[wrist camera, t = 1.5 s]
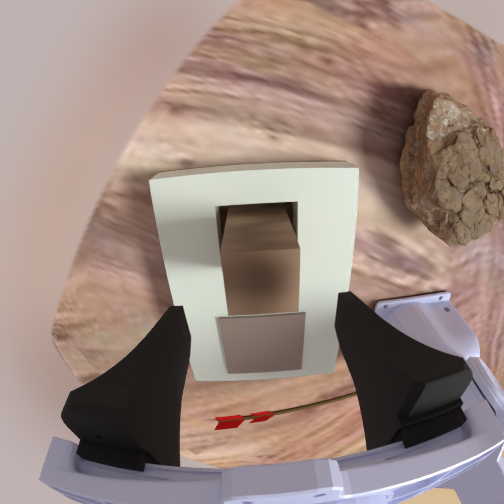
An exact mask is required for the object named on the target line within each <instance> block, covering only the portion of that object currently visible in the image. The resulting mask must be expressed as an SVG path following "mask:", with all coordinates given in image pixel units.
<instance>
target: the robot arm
mask: <svg viewBox="0 0 504 504" xmlns="http://www.w3.org/2000/svg"><path fill="white" fill-rule="evenodd" d="M450 296H451V294H450V293H449V292H448V291H446V292H440V293H434V294H428V295H421V296H414V297H407V298H400V299H393V300H385V301H379V302H378V303H377V304H376V305H375V310H374V311H373V310H372V309H370V308H369V307H368V306H367V305H366V304H365V303H363V302H362V301H361V300H360V299H359V298H358V297H357V296H355V295H354V294H353V293H352V292H351V291H349V292H341V293H338V300H337V308H336V316H335V324H334V327H335V331H336V335H337V339H338V343H339V345H340V348H341V351H342V353H343V356H344V358H345V361H346V363H347V366H348V368H349V371H350V374H351V376H352V379H353V382H354V385H355V388H356V392H357V396H358V401H359V405H360V410H361V415H362V420H363V426H364V432H365V439H366V447H367V451H364V452H360V453H356V454H351V455H347V456H342V457H337V458H332V459H328V458H321V459H310V460H303V461H296V462H287V463H277V464H265V465H247V466H238V467H232V468H229V469H214V468H213V469H212V468H188V467H180V415H181V401H182V394H183V389H184V384H185V379H186V374H187V369H188V364H189V359H190V352H191V338H192V337H191V334H190V330H189V327H188V323H187V319H186V315H185V312H184V308H183V306H170V307H169V308H168V310H167V311H166V312H165V313H164V315H163V316H162V317H161V318H160V320H159V321H158V322H157V323H156V325H155V326H154V327H153V328H152V329H151V331H150V332H149V333H148V334H147V335H146V337H145V338H144V339H143V340H142V341H141V342H140V343H139V344H138V345H137V346H136V347H135V348H134V349H133V350H132V351H131V352H130V353H129V354H128V355H127V356H126V357H125V358H123V359H122V360H121V361H120V362H119V363H117V364H116V365H115V366H113V367H112V368H111V369H109V370H108V371H107V372H105V373H104V374H102V375H101V376H99V377H97V378H96V379H94V380H92V381H91V382H89V383H87V384H85V385H83V386H81V387H79V388H77V389H75V390H73V391H71V392H70V394H69V396H68V398H67V401H66V403H65V405H64V408H63V410H62V413H61V418H62V420H63V422H64V423H65V424H66V426H67V427H68V428H69V429H70V430H71V431H72V432H73V433H74V434H75V435H76V436H77V437H78V438H79V439H80V442H79V445H78V444H76V443H74V442H71V441H68V440H64V439H61V438H58V437H53V438H52V441H51V444H50V447H49V450H48V453H47V456H46V459H45V462H44V465H43V468H42V472H41V475H40V481H41V482H43V483H44V484H46V485H48V486H49V487H51V488H52V489H54V490H56V491H57V492H59V493H61V494H63V495H64V496H66V497H68V498H70V499H72V500H74V501H77V502H80V503H83V504H397V503H400V502H402V501H405V500H407V499H410V498H412V497H414V496H417V495H419V494H421V493H423V492H426V491H428V490H430V489H432V488H449V489H454V490H455V492H456V493H457V496H458V497H459V499H460V501H461V503H462V504H504V458H503V457H502V455H501V454H502V452H503V449H504V391H503V389H502V388H501V386H500V384H499V383H498V381H497V380H496V378H495V377H494V375H493V374H492V372H491V371H490V370H489V368H488V367H487V366H486V364H485V363H484V362H483V361H482V360H481V359H480V358H479V357H480V349H479V343H478V340H477V337H476V335H475V333H474V332H473V330H472V329H471V328H470V326H469V325H468V324H467V323H466V321H465V320H464V319H463V317H462V316H461V315H460V314H459V312H458V311H457V310H456V309H455V308H454V306H453V305H452V304H451V303H450V302H449V299H450ZM439 297H440V298H439ZM384 305H386V306H384Z"/></svg>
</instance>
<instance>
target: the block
mask: <svg viewBox="0 0 504 504" xmlns="http://www.w3.org/2000/svg"><path fill="white" fill-rule="evenodd" d="M220 256H221V264H222V272H223V280H224V288H225V296H226V303H227V311H228V316H237V315H256V314H273V313H287V312H299V286H300V246H299V243H298V241H297V238H296V235H295V233H294V230H293V227H292V225H291V222H290V220H289V217H288V214H287V212H286V209H285V207H284V204H283V202H275V203H256V204H240V205H229V207H228V213H227V218H226V224H225V229H224V235H223V240H222V246H221V252H220Z"/></svg>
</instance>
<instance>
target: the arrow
mask: <svg viewBox="0 0 504 504" xmlns="http://www.w3.org/2000/svg"><path fill="white" fill-rule="evenodd" d="M356 395H357V392H356V393H352V394H349V395H345V396H342V397H338V398H334V399H331V400H327V401H323V402H319V403H315V404H311V405H306V406H302V407H297V408H293V409H288V410H283V411H278V412H270V411H265V412H259V413H252V414H251V415H254V416H248V417H243V416H241V415H235V416H226V417H216V419H217V420H218V421H219V423H218V425H217V426H216V428H215V430H220V429H230V428H237V427H238V426H239V425H240V424H241V423H242V422H243V421H244V420H249V419H254V420H252V421H251V422H250V423H254V422H261V421H266V420H268V419H269V418H271V417H273V416H274V415H279V414H284V413H289V412H294V411H299V410H303V409H307V408H312V407H316V406H320V405H324V404H328V403H332V402H335V401H339V400H342V399H346V398H349V397H353V396H356Z"/></svg>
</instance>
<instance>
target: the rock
mask: <svg viewBox="0 0 504 504" xmlns="http://www.w3.org/2000/svg"><path fill="white" fill-rule="evenodd" d="M413 119H414V125H413V126H409V127H408V130H407V132H406V135H405V146H404V148H403V150H402V155H401V158H400V163H399V167H400V170H401V172H400V176H401V182H402V188H401V190H402V192H403V193H404V202H405V205H406V206H407V207H408V209H409V210H410V211H411V212H412V213H413V214H415V215H416V216H417V217H419V219H420V220H421V221H422V223H423V224H424V225H425V226H426V227H427V228H428V230H429V231H430V232H432V233H433V234H434V235H436V236H437V237H438V238H440V239H442V240H443V241H444V242H445V243H446V244H448V245H449V246H459V245H466V244H467V243H468V242H469V241H470V240H471V239H478V238H479V237H481V236H482V235H484V234H485V233H487V232H489V231H490V230H491V229H492V226H494V225H496V224H497V223H499V222H501V221H502V220H504V150H503V148H502V147H501V145H500V143H499V138H498V137H497V135H496V131H495V129H494V128H492V127H491V126H490V125H489V124H488V123H486V121H485V120H484V119H483V118H481V117H479V116H477V115H476V114H475V113H474V112H473V111H472V110H471V109H469V108H468V107H467V106H466V105H463V104H461V103H459V102H457V101H456V100H455V99H454V98H453V97H451V96H450V95H448V94H446V93H435V92H433V91H431V90H428V91H425V92H424V93H423V96H422V99H421V98H420V99H419V102H418V105H417V109H416V111H415V112H414V115H413Z"/></svg>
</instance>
